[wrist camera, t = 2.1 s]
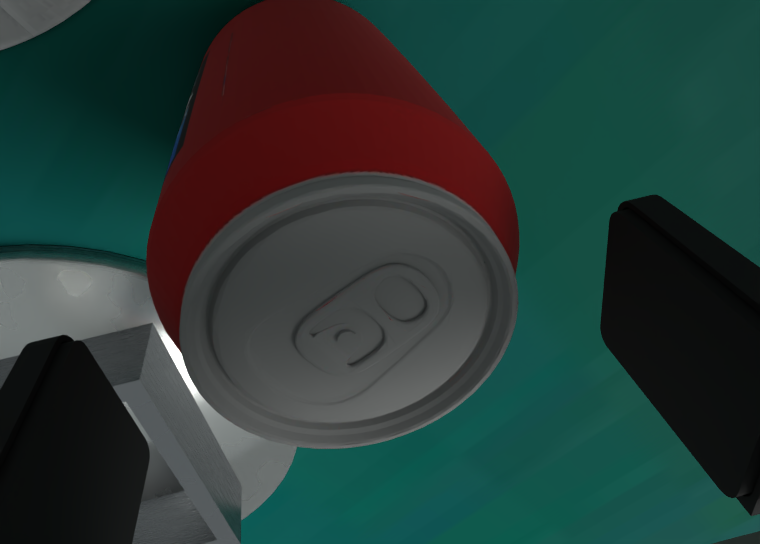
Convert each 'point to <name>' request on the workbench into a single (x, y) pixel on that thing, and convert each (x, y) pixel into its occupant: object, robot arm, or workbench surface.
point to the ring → (32, 18)
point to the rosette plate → (142, 389)
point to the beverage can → (329, 235)
